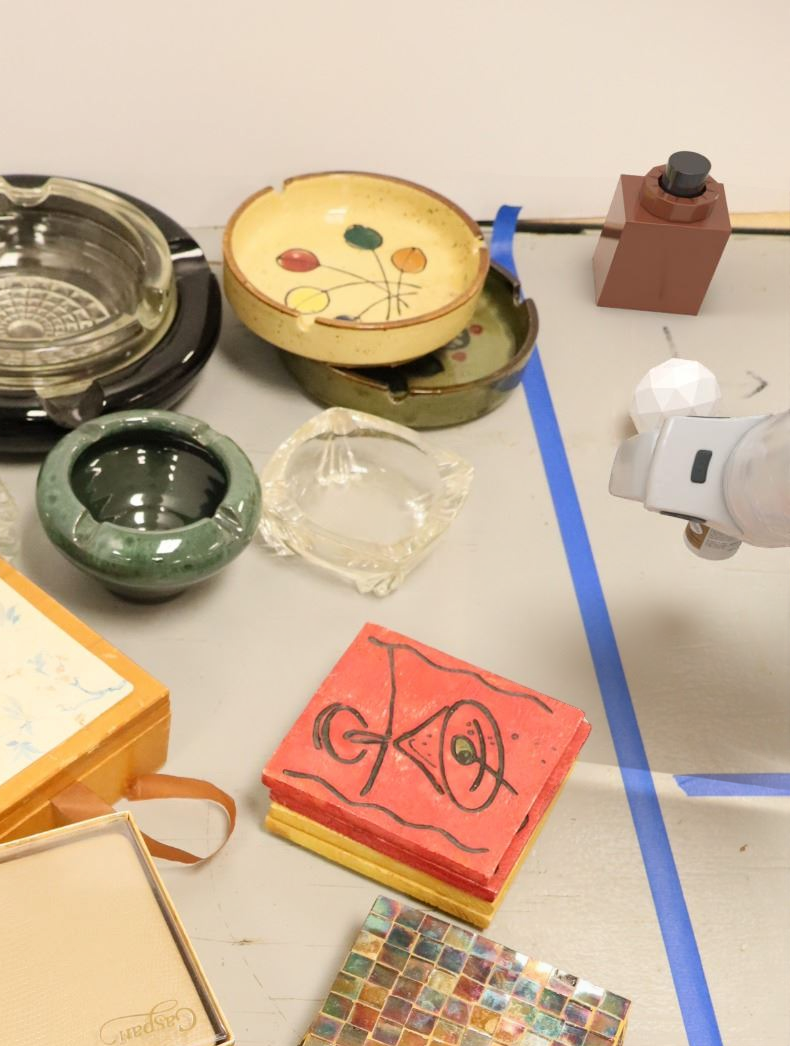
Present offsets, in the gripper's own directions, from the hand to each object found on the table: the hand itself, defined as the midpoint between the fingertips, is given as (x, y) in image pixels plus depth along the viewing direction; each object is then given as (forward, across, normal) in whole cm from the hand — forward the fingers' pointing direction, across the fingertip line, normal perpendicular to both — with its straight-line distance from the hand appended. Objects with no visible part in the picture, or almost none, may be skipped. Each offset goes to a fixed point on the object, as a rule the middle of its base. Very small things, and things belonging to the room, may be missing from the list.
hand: (729, 495), depth 111 cm
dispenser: (+41, +4, -23) cm, 47 cm away
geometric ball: (+25, +2, -7) cm, 26 cm away
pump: (+33, +4, -30) cm, 45 cm away
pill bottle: (+3, 0, +4) cm, 5 cm away
